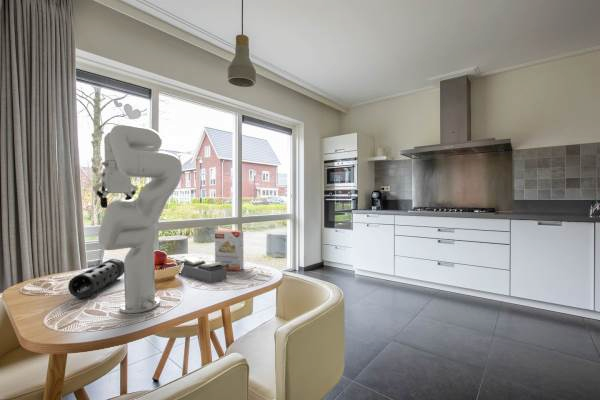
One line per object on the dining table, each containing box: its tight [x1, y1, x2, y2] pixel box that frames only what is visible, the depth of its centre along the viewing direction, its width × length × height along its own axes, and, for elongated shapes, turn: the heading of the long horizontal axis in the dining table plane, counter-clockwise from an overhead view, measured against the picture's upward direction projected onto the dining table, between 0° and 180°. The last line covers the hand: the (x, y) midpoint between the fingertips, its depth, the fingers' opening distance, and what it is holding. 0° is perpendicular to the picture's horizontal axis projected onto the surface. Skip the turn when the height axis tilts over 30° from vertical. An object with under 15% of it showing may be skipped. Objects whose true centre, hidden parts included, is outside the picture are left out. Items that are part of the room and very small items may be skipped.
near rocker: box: [201, 261, 220, 268], centre depth 136 cm, size 8×5×2 cm, turn 55°
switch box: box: [179, 260, 227, 284], centre depth 140 cm, size 26×9×6 cm, turn 55°
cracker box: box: [214, 229, 244, 272], centre depth 151 cm, size 14×6×21 cm, turn 81°
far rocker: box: [183, 256, 203, 264], centre depth 144 cm, size 8×5×2 cm, turn 55°
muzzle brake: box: [68, 258, 124, 300], centre depth 122 cm, size 10×28×10 cm, turn 9°
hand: (116, 207), depth 117 cm, fingers open, 9 cm apart
